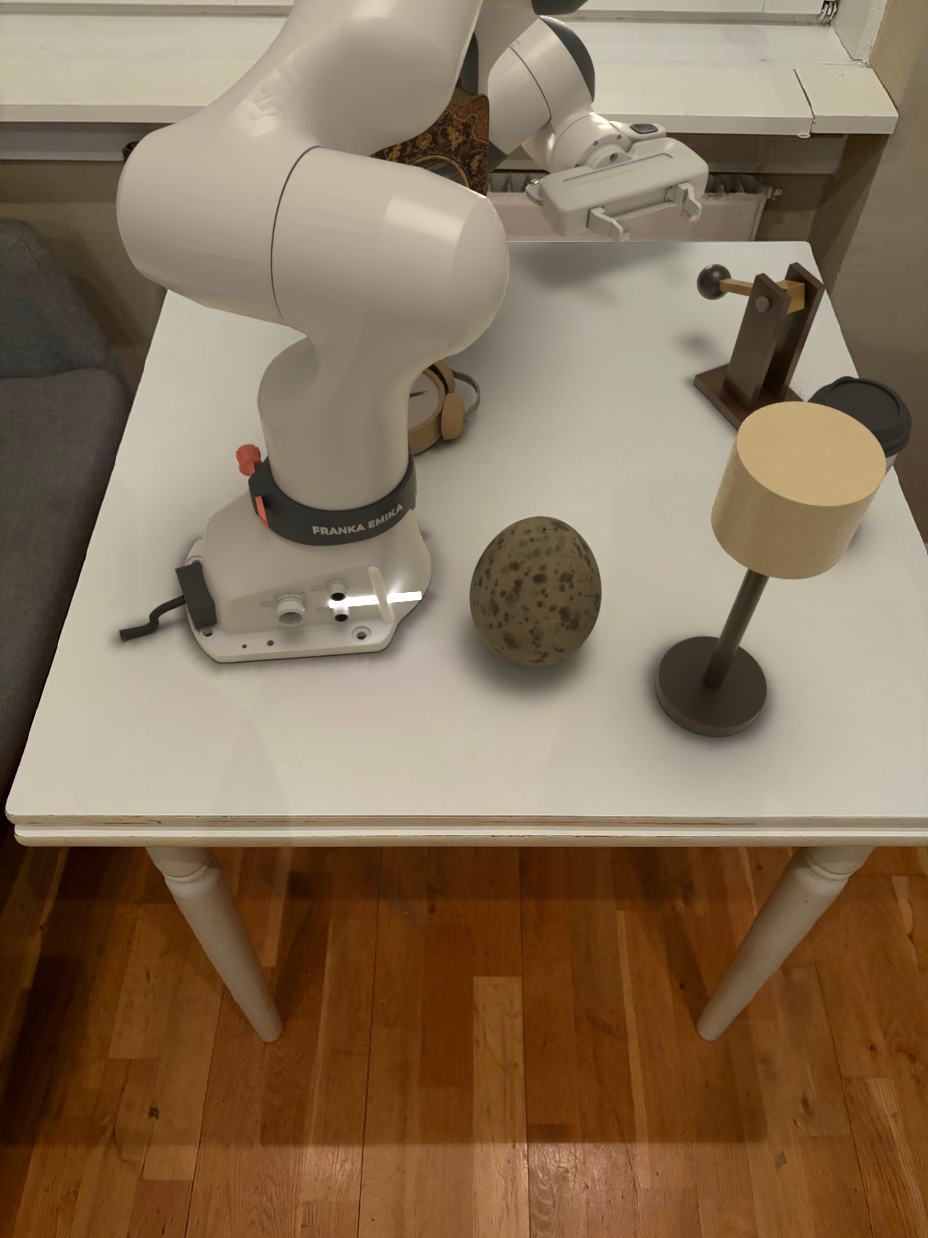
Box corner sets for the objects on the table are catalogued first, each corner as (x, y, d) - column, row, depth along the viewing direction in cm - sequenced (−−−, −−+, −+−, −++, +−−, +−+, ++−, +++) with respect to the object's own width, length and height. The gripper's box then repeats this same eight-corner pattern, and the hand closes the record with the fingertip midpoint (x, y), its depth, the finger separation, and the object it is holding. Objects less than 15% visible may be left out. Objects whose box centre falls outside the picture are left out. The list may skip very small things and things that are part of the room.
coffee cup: (878, 528, 91) (945, 410, 79) (812, 569, 88) (871, 452, 76) (809, 471, 95) (862, 351, 83) (744, 508, 92) (789, 389, 80)
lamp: (681, 748, 77) (779, 519, 54) (638, 659, 82) (711, 415, 59) (780, 721, 79) (916, 488, 56) (732, 636, 84) (839, 389, 61)
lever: (690, 301, 102) (688, 267, 100) (717, 292, 103) (716, 258, 101) (780, 322, 90) (780, 284, 88) (810, 312, 91) (810, 274, 89)
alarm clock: (324, 374, 99) (461, 332, 99) (337, 408, 103) (468, 368, 103) (343, 449, 92) (489, 404, 92) (356, 482, 96) (496, 439, 97)
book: (358, 364, 104) (335, 138, 84) (335, 336, 107) (308, 111, 87) (483, 316, 109) (491, 92, 89) (458, 291, 112) (460, 68, 92)
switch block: (693, 383, 103) (725, 262, 91) (752, 362, 105) (791, 242, 93) (748, 441, 98) (790, 321, 86) (809, 418, 100) (858, 298, 88)
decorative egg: (557, 714, 79) (578, 607, 67) (445, 660, 82) (445, 548, 70) (610, 622, 84) (638, 508, 72) (503, 575, 87) (512, 458, 75)
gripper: (520, 158, 106) (583, 221, 99) (671, 119, 112) (741, 176, 105) (516, 211, 111) (576, 274, 104) (661, 171, 117) (728, 228, 110)
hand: (660, 225), depth 105 cm, fingers open, 8 cm apart
